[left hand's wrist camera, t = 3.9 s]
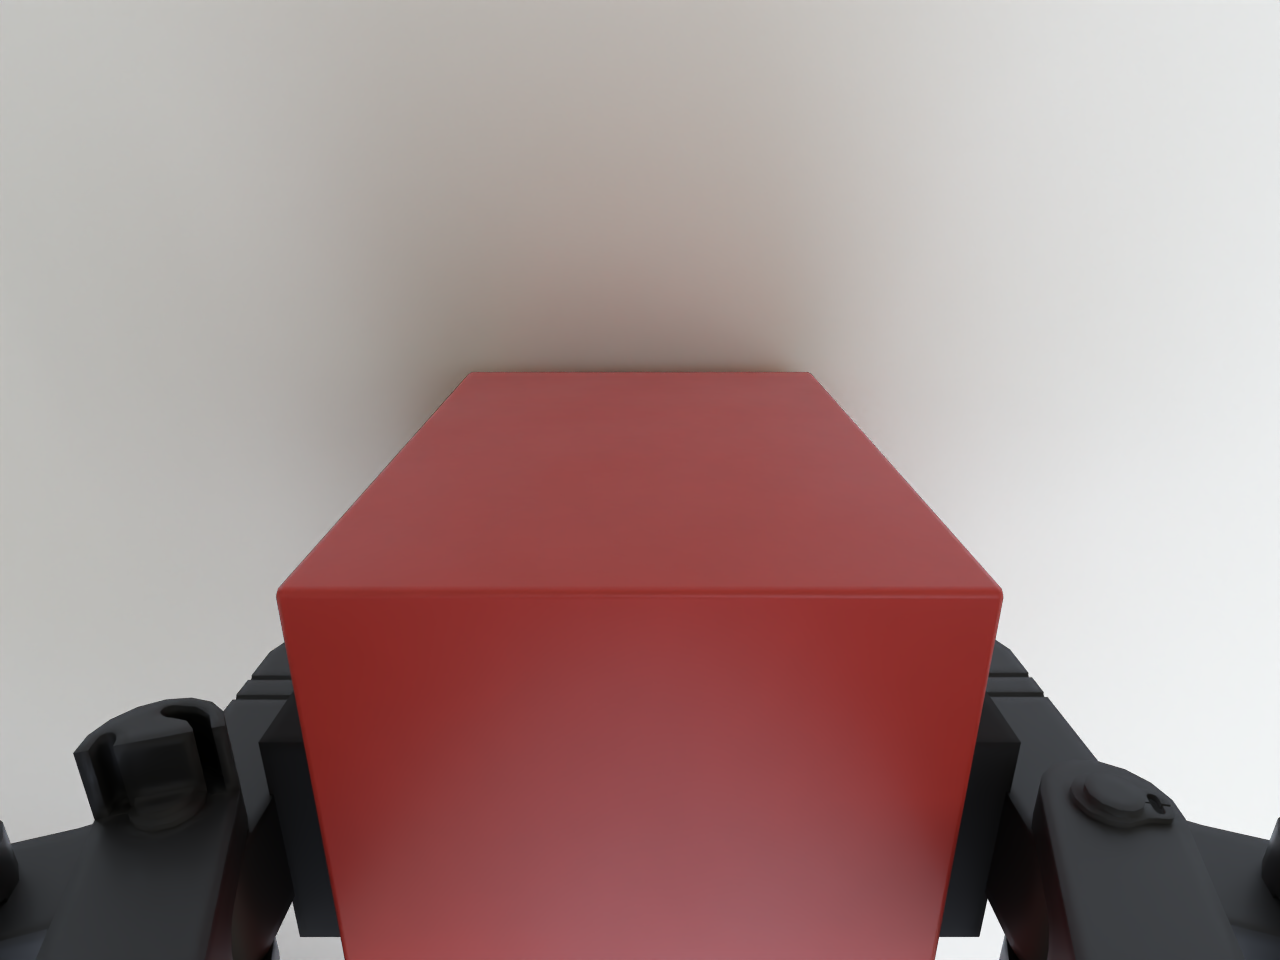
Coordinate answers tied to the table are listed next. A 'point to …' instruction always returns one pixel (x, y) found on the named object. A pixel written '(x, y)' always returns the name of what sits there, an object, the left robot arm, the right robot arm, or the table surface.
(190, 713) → the left robot arm
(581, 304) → the table surface
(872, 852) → the brick
